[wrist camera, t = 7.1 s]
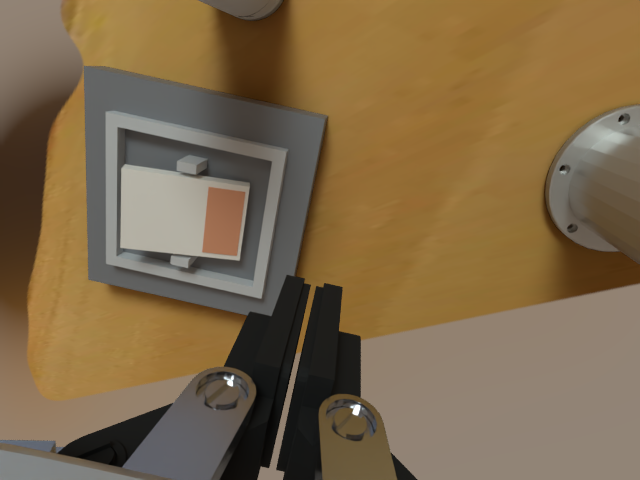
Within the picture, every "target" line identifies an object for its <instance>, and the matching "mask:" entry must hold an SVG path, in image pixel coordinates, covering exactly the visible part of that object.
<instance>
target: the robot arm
mask: <svg viewBox="0 0 640 480" xmlns="http://www.w3.org/2000/svg"><path fill="white" fill-rule="evenodd" d="M620 116H621V119H620V120H619V117H620ZM618 120H619V121H618ZM562 165H563V168H562V169H561V170H560V167H561V166H562ZM545 198H546V205H547V209H548V212H549V214H550V217H551V219H552V221H553V222H554V223H555V225H556V226H557V228H558V229H559V230H560V231H561V232H562V233H563V234H565V235H566V236H567V237H568V238H570V239H571V240H572V241H574V242H575V243H577V244H579V245H581V246H584V247H586V248H588V249H593V250H597V251H605V252H619V251H621V252H622V253H624V254H625V255H626V256H628V257H629V258H631V259H632V260H634V261H635V262H637V263H638V264H639V265H640V104H637V105H631V106H625V107H620V108H617V109H614V110H611V111H608V112H605V113H604V114H602V115H600V116H598V117H596V118H594V119H592V120H590V121H589V122H588V123H586V124H585V125H584V126H582V127H581V128H580V129H578V130H577V131H576V132H575V133H574V134H573V135H572V136H571V137H570V138H569V139H568V140H567V141H566V142H565V143H564V145H563V146H562V148H561V149H560V150H559V152H558V153H557V155H556V157H555V159H554V161H553V163H552V165H551V167H550V169H549V173H548V177H547V180H546V190H545ZM569 225H570V226H569ZM568 226H569V227H568ZM304 280H305V279H304V278H300V277H295V276H291V275H286V278H285V281H284V283H283V286H282V289H281V291H280V294H279V297H278V300H277V302H276V305H275V308H274V310H273V313H272V316H269V315H265V314H260V313H256V312H251V311H250V312H249V314H248V316H247V318H246V320H245V322H244V324H243V326H242V329H241V331H240V333H239V335H238V337H237V339H236V341H235V343H234V346H233V348H232V350H231V352H230V354H229V356H228V358H227V361H226V363H225V365H224V367H215V368H210V369H207V370H205V371H203V372H201V373H199V374H198V375H197V376H196V377H194V378H193V379H192V381H191V382H190V383H189V384H188V386H187V387H186V388H185V389H184V391H183V392H182V394H180V396H179V397H178V398H177V399H176V401H175V402H174V403H172V404H169V405H167V406H164V407H161V408H158V409H156V410H153V411H150V412H147V413H145V414H142V415H139V416H137V417H134V418H131V419H129V420H126V421H124V422H121V423H118V424H115V425H113V426H110V427H107V428H105V429H102V430H99V431H96V432H94V433H91V434H88V435H86V436H83V437H81V438H79V439H77V440H75V441H73V442H71V443H69V444H68V445H67V446H65V447H56V443H55V441H28V440H0V480H257V478H258V474H259V470H260V467H261V466H262V467H266V468H269V466H270V462H271V458H272V453H273V449H274V445H275V440H276V436H277V432H278V428H279V423H280V419H281V415H282V410H283V406H284V401H285V397H286V393H287V389H288V384H289V380H290V376H291V372H292V367H293V363H294V359H295V354H296V349H297V345H298V340H299V336H300V331H301V327H302V322H303V318H304V313H305V309H306V304H307V299H308V295H309V290H310V286H311V285H309V284H304ZM341 299H342V287H340V286H335V285H331V284H326V283H324V287H323V288H322V287H318V286H316V290H315V295H314V299H313V304H312V308H311V312H310V317H309V321H308V326H307V330H306V334H305V339H304V343H303V348H302V352H301V357H300V361H299V365H298V371H297V375H296V379H295V384H294V389H293V393H292V398H291V403H290V407H289V412H288V417H287V421H286V426H285V431H284V435H283V440H282V445H281V449H280V454H279V459H278V464H277V468H276V469H277V470H279V471H284V472H285V473H284V477H283V480H417V479H416V478H415V477H414V476H413V475H412V474H411V473H410V472H409V471H408V470H407V468H405V467H404V465H402V463H401V462H400V461H399V460H398V459H397V458H396V457H395V456H394V455H393V454H392V453H391V452H390V448H389V444H388V439H387V436H386V431H385V427H384V423H383V420H382V418H381V416H380V414H379V412H378V411H377V410H376V409H375V407H374V406H372V405H371V404H370V403H368V402H367V401H366V400H364V399H362V398H360V396H361V391H360V390H361V388H360V387H361V384H360V383H361V381H360V380H361V372H360V371H361V359H360V358H361V339H360V336H358V335H353V334H349V333H344V332H340V331H339V322H340V311H341Z"/></svg>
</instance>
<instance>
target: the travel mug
mask: <svg viewBox="0 0 640 480" xmlns="http://www.w3.org/2000/svg"><path fill="white" fill-rule="evenodd" d="M199 1H201V2H203V3H205V4H208V5H210V6H212V7H215V8H217V9H219V10H221V11H224V12H226V13H228V14H230V15H233V16H235V17H237V18H240V19H243V20H250V21H255V20H261V19H263V18H266V17H268V16H269V15H271V14H273V13H274V12H275V11H276V10H277V9H278V8H279V7H280V5H281V3H282V2H283V0H199Z"/></svg>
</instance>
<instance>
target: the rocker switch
mask: <svg viewBox="0 0 640 480" xmlns="http://www.w3.org/2000/svg"><path fill="white" fill-rule="evenodd" d="M249 189H250V183H249V182H242V181H235V180H229V179H222V178H215V177H208V176H202V175H194V174H188V173H181V172H175V171H168V170H161V169H154V168H148V167H141V166H134V165H127V164H125V165H124V166H123V167H122V168H121V239H120V248H126V249H135V250H145V251H154V252H163V253H173V254H182V255H191V256H201V257H210V258H219V259H229V260H238V261H240V253H241V246H242V239H243V232H244V225H245V217H246V210H247V203H248V196H249Z"/></svg>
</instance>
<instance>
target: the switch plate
mask: <svg viewBox="0 0 640 480" xmlns="http://www.w3.org/2000/svg"><path fill="white" fill-rule="evenodd" d="M84 93H85V139H86V185H87V232H88V278H89V280H93V281H97V282H101V283H106V284H110V285H115V286H119V287H124V288H128V289H133V290H137V291H141V292H146V293H150V294H155V295H159V296H164V297H168V298H172V299H177V300H181V301H186V302H190V303H195V304H199V305H204V306H208V307H212V308H217V309H221V310H226V311H230V312H235V313H239V314H243V315H248V314H249V312H250V311H251V312H256V313H260V314H265V315H269V316H272V313H273V310H274V308H275V305H276V302H277V300H278V297H279V294H280V291H281V289H282V286H283V283H284V281H285V278H286V275H291V276H295V277H296V272H297V267H298V262H299V257H300V252H301V247H302V242H303V237H304V232H305V227H306V222H307V217H308V212H309V207H310V202H311V197H312V192H313V187H314V182H315V177H316V173H317V168H318V163H319V158H320V153H321V148H322V143H323V138H324V133H325V128H326V123H327V118H328V116H327V115H323V114H318V113H314V112H309V111H305V110H300V109H296V108H291V107H287V106H282V105H277V104H273V103H268V102H264V101H259V100H255V99H250V98H246V97H241V96H237V95H232V94H228V93H223V92H219V91H214V90H210V89H205V88H200V87H196V86H191V85H187V84H182V83H178V82H173V81H169V80H164V79H160V78H155V77H151V76H146V75H142V74H137V73H132V72H128V71H123V70H119V69H114V68H110V67H105V66H84ZM125 164H127V165H134V166H141V167H148V168H154V169H161V170H168V171H175V172H181V173H188V174H194V175H202V176H208V177H215V178H222V179H229V180H235V181H242V182H249V183H250V189H249V196H248V203H247V210H246V217H245V225H244V232H243V239H242V246H241V253H240V261H238V260H229V259H219V258H210V257H201V256H191V255H182V254H173V253H163V252H154V251H145V250H135V249H126V248H120V239H121V168H122V167H123V166H124V165H125Z"/></svg>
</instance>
